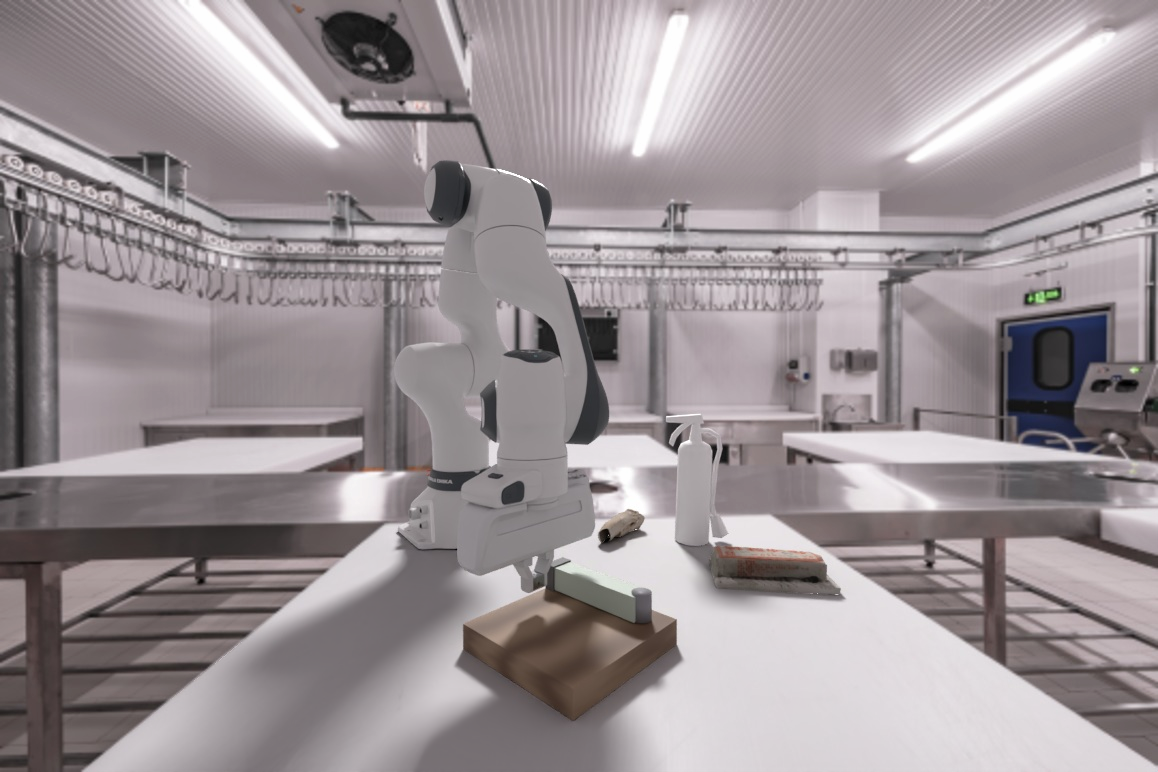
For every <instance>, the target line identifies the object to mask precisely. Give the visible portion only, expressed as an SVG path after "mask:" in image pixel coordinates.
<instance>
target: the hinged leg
mask: <svg viewBox="0 0 1158 772" xmlns="http://www.w3.org/2000/svg"><path fill="white" fill-rule="evenodd" d="M545 588H546V589H548V590H551V591H553V592H554V591H559V592H561V593H563V594H566V595H568V596H571V597H573V598H575V599H578V600H580V601H583V602H585V603H587V604H590V605H592V606H595V607H597V608H599V609H602V610H604V611H607V612H609V613H611V614H614V615H616V616H618V617H621V618H623V619H626V620H628V621H630V622H633V623H635V622H637V623H648V622H650V621H651V620H652V610H653V609H652V607H653V603H652V602H653V596H652V595H653V593H652V592H653V591H652V590H651V589H649V588H646V587H643V586H639V585H637V584H635V583H631V582H628V581H625V580H622V579H620V578H617V577H614V576H611V575H608V574H607V573H603V572H600V571H597V570H594V569H591V568H589V567H587V566H586V567H585V566H583V565H580V564H578V563H574V562H572V560H571V559H569V558H566V557H563V556H562V557H559V558H558V559H555V560H554V559H553V561H552V564H551V566H550V569H549V571H548V573H547V586H545V587H544V589H545Z"/></svg>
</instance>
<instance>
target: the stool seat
mask: <svg viewBox="0 0 1158 772" xmlns="http://www.w3.org/2000/svg"><path fill="white" fill-rule="evenodd" d="M677 626H678V620H677V618H675V617H671V616H669V615H666V614H663V613H661V612H659V611H656V610H653V609H652V620H651V621H650V622H648V623H637V622H635V623H633V622H630V621H628V620H626V619H623V618H621V617H618V616H616V615H614V614H611V613H609V612H607V611H604V610H602V609H599V608H597V607H595V606H592V605H590V604H587V603H585V602H583V601H580V600H578V599H575V598H573V597H571V596H568V595H566V594H563V593H561V592H559V591H554V592H553V591H551V590H548V589H546V588H545V587H544V588H543V589H539V591H536V592H534V593H533V592H532V593H531V594H529V595H527V596H524V597H522V598H520V599H517V600H515V601H513V602H510V603H508V604H506V605H504V606H501V607H499V608H496V609H494V610H492V611H490V612H486V613H485V614H482V615H480V616H478V617H476V618H473V619H470V620H468V621H466V622H464V623H462V646H463V647H462V648H463V650H464V651H466V652H467V653H469V654H470V655H472V656H474V657H475V658H476V659H478V660H479V661H481V662H482V663H483V664H486V665H487V666H489V667H490V668H492V669H494V670H495V671H496V672H497V673H500V674H501V675H502V676H505V678H507V679H509V680H510V681H511V682H512V683H515V684H516V685H517V686H519V687H521V688H522V689H524V690H525V691H527V692H528V693H530V694H532V696H535V698H537V699H539V700H540V701H542V702H544V703H545V704H547V705H548V706H550V707H551V708H552V709H554V710H556V711H557V712H559V713H560V714H561V715H563V716H565V717H567V718H568V719H569V720H571V721H573V722H574V721H575V720H577V719H578V718H579V717H581V716H583V714H584V713H586V712H587V711H588V710H590V709H591V708H593V707H594V706H596V705H597V704H598V703H599V702H601V701H602V700H604V699H605V698H606V697H607V696H609V695H610V694H611V693H613V692H615V690H617V689H619V688H620V687H621V686H623V684H625V683H626V682H628V681H629V680H630V679H632V678H633V677H635V676H636V675H637V674H639V673H640V672H641V671H643V670H645V668H647V667H649V666H650V665H651V664H652V663H654V662H655V661H656V660H657V659H659V658H660V657H663V655H664V654H666V653H667V652H668V651H670V650H671V649H672V648H674V647H675V646H676V645H678V643H677V642H678V628H677Z"/></svg>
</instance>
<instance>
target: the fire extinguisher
mask: <svg viewBox="0 0 1158 772" xmlns="http://www.w3.org/2000/svg"><path fill="white" fill-rule="evenodd" d="M665 422H666V423H676V424H680V425H679V426H678V427H676V429H675V430H674V431H673V432H672V433H671V435H670V438H669V442H668V444H669V445H670V446H671V447H674V445H675V443H676V440H677V438H678V437H679V435H680V434H681V433H682V432H684V430H685V429H687V428H688V427H689V426H690V432H689V437H688V440H686V441H685V440H684V441H683V442H681V443H680V445H679V447H678V449H677V465H676V467H677V468H676V469H677V470H676V490H675V491H676V495H675V516H674V517H675V519H674V523H675V525H674V540H675V541H676V542H677V543H679V544H682V545H685V546H691V547H702V546H706V545H705V544H707V545H708V543H709V542H710V541H709V540H710V527H711V534H712V538H717V539H722V538H724V537H726V536H727V535H729V532H728V530H727V527H726V525H725V523H724V521H723V519H722V517H721V515H720V514H718V513H717V508H716V504H715V502H716V491H717V481H718V476H719V475H718V473H719V465H720V464H719V463H720V461H721V456H722V452H723V441H722V436H721V435H722V434H720V433H719V432H717V431H715V430H714V429H712V428H709V427H707V428H706V427H702V426H701V425H704V424H705V422H704V418H703V415H702V414H701V413H692V414H680V415H677V414H676V415H666V416H665ZM702 434H709V435H711V436H712V437H714V438H716V449H717V450H716V453H715V457H714V460H713V449H712V447H711V445H710V444H709V443H707V442H705V441H703V436H702ZM710 525H711V526H710ZM708 541H709V542H708ZM701 545H702V546H701Z"/></svg>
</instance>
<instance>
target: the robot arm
mask: <svg viewBox="0 0 1158 772" xmlns="http://www.w3.org/2000/svg"><path fill="white" fill-rule="evenodd" d="M423 197H424V198H423V199H424V202H425V206H426V207H425V208H426V212H427V214H428V215H429V217H430V218H431V219H432V221H434V222H436V223H438V224H440V225H443V226H445V227H447V228H448V230H447V233H446V237H445V240H444V245H443V251H442V256H441V264H440V268H441V269H440V275H439V289H438V300H437V307H438V309H439V311H440V314H441V316H443V317H444V319H446V320H447V321H448V322H450V323H451V324H452V325H454V326H455V327H457V328H458V330H459V333H460V343H455V342H432V341H431V342H429V341H428V342H422V343H415V344H410V345H406V346H404V348H403V349H401V350H400V352H399V353H398V355H397V357H396V359H395V361H394V365H393V366H394V367H393V375H394V379H395V383H396V385H397V387H398V388H399V390H400V391H401V392H402V393H403V394H404V395H405V396H407V397H408V398H410V399H411V400H412V401H413V402H414V403H415V404H416V405H417V406H418V407H419V408H420V411H422V413H423V415H424V416H425V419H426V421H427V423H428V427H429V431H430V438H431V450H432V453H431V456H432V468H430V469H427V470H426V472H429V473H427V474H426V476H428V478H427V479H428V481H427V487H426V488H425V489H424V490H423V491H422V492H421V493H420V494H419V495H418V496H417V497H416V498H414V500H413V501H412V502H411V503H410V508H409V509H408V511H407V513H408V518H409V521H407V522H404V523H402V524H400V525H398V526H397V532H399V534H400V535H402V536H403V537H404V538H405V539H407V540H408V542H409V543H411V544H412V545H413V546H414V547H416V548H417V549H419V550H433V549H444V550H445V549H448V550H449V549H451V550H453V549H454V550H455V549H457V550H456V553H457V555H456V556H457V557H456V558H457V562H458V565H460V567H461V568H462V569H463V571H466V572H468V573H470V574H473V575H475V576H478V577H479V576H481V577H482V576H484V575H487V574H490V573H492V572H495V571H498V570H501V569H504V568H507V567H509V566H513V567H514V569H515V571H516V572H517V574H518V575H519V577H520V589H521V591H522V592H525V593H526V594H530V593H531V594H532V593H533V592H535V591H537V590H541V589H542V588H545V586H547V573H548V571H549V569H550V566H551V564H552V561H554V559H555V550H557V549H559V548H562V547H565V546H568V545H571V544H573V543H576V542H579V541H582V540H584V539H587V538H588V539H589V538H590V537H592V536H593V533H594V531H595V528H596V518H595V517H596V515H595V504H594V499H593V498H594V497H593V493H592V491H591V490H592V489H591V487H590V478H589V476H588V475H587V474H586V472H584V471H583V470H582V469H573V470H572V471H569V469H568V468H569V467H568V466H569V465H568V464H569V463H568V453H569V452H568V447H567V445H580V446H581V445H583V446H584V445H585V446H588V445H590V444H592V442H594V441H595V440H596V439H598V438H599V437H600V435H602V433H603V432H604V431H605V429H606V428H607V427H608V424H609V422H610V421H609V420H610V404H609V400H608V396H607V393H606V389H605V387H604V384H603V382H602V381H601V378H600V375H599V373H598V369H597V366H596V363H595V362H596V361H595V360H594V356H593V352H592V347H591V344H590V341H589V336H588V334H587V329H586V325H585V321H584V318H583V314H582V311H581V307H580V304H579V300H578V297H577V295H576V292H575V289H574V287H573V285H572V282H571V281H570V278H568V277H566V276H565V275H564V274H562V273H561V272H560V271H559V270H558V268H557V267H556V266H555V264H554V262H553V261H552V259H551V257H550V254H549V251H548V248H547V247H548V246H547V237H546V231H547V229H548V228H549V224H550V222H551V217H552V211H553V200H552V197H551V194H550V190H549V189H548V188H547V187H546V186H545V185H544V184H542V183H540V182H538V181H537V180H535V179H532V178H528V179H527V178H525V177H523V176H520V175H517V174H515V173H512V172H509V171H506V170H502V169H499V168H490V167H486V166H480V165H474V164H469V163H460V162H459V160H452V159H451V160H450V159H447V160H444V159H443V160H438V161H437V162H436V163H434V165H432V167H431V169H430V171H429V173H428V174H427V177H426V179H425V182H424V187H423ZM498 300H500V301H503V302H505V303H506V304H509V305H511V306H514V307H517V308H520V309H522V310H525V311H527V312H529V313H530V314H533V315H536V316H537V317H539V318H541V319H542V320H544V321H545V322H546V323H547V324H548V325H549V326H550V327H551V329H552V330H553V332H554V335H555V338H556V342H557V345H558V350H559V351H558V352H559V354H560V356H559V355H558V354H556V353H555V352H553V351H550V350H549V351H548V350H539V349H514V350H513V349H512V350H511V349H510V348H509V347H508V346H507V344H506V343H505V341H504V339H503V337H502V335H501V331H500V329H499V328H500V327H499V324H498V318H497V317H498V316H497V315H498V314H497V308H498V307H497V306H498ZM564 374H565V375H564ZM477 398H478V399H480V404H481V405H480V406H481V419H478V418H476V417H474V416H472V415H470V414H469V413H468V411H467V409H466V407H465V406H466V405H465V401H464V399H477ZM490 440H491V441H493V442H494V443H497V444H498V447H497V451H496V463H495V464H494V465H490ZM535 557H537V560H536V563H535V566H534V569H533V571H531V569H530V567H532V566H533V558H535Z"/></svg>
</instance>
